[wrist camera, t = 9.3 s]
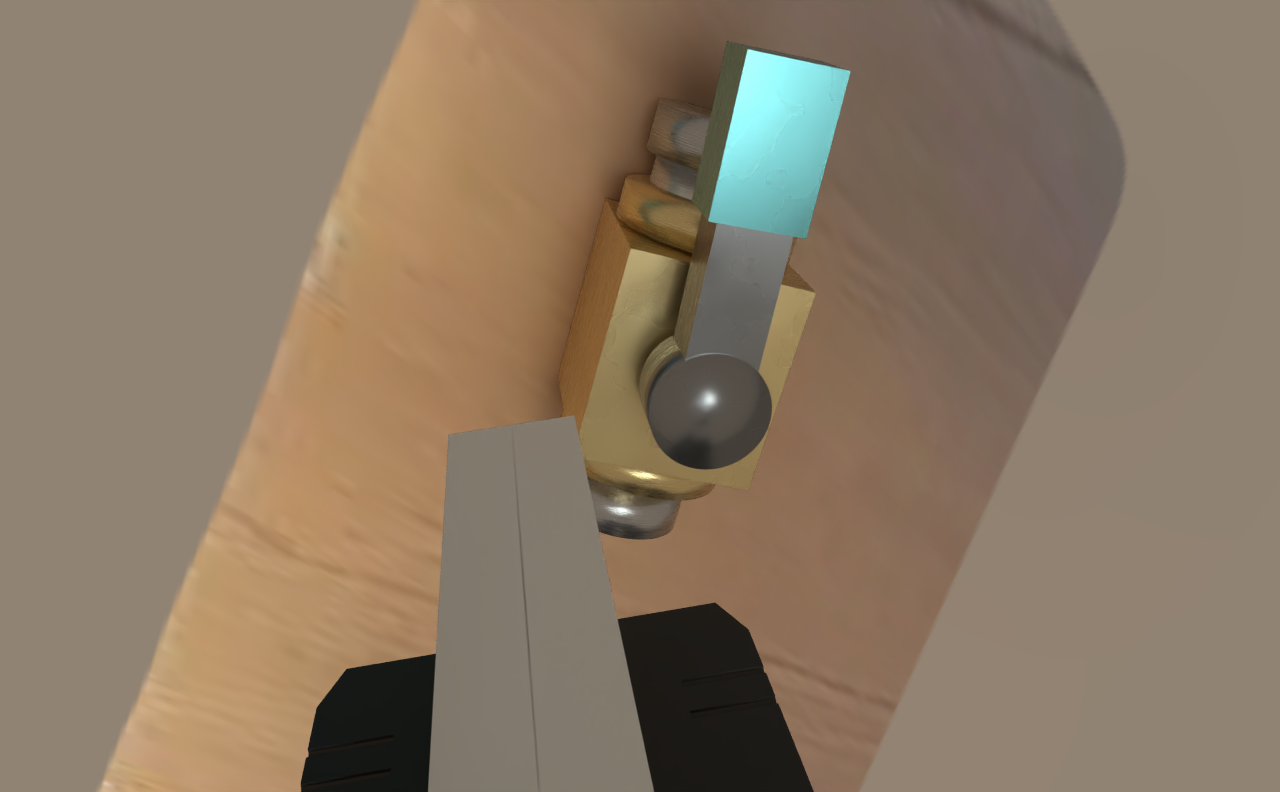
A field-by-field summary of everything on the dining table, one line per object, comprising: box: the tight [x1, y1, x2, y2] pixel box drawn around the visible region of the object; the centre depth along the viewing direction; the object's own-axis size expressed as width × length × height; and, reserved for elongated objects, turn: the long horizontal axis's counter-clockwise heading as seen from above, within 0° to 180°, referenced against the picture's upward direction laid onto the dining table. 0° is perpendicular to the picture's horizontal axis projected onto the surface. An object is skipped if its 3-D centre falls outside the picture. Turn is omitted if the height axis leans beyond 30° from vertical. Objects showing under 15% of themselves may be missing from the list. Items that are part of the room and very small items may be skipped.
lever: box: [639, 41, 850, 470], centre depth 31 cm, size 12×4×2 cm, turn 168°
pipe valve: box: [558, 99, 816, 539], centre depth 38 cm, size 15×6×8 cm, turn 164°
